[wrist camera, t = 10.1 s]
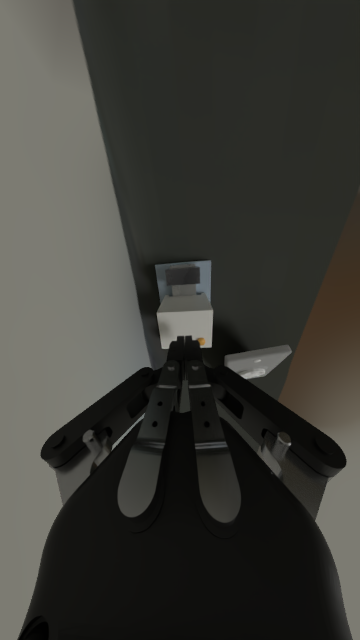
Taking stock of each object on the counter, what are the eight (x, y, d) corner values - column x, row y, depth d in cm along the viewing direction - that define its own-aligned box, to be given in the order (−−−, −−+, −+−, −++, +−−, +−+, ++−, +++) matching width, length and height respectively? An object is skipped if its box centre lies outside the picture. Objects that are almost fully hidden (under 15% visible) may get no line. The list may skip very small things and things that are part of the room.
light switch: (226, 386, 30) (228, 369, 19) (219, 360, 34) (217, 331, 22) (267, 380, 29) (297, 358, 17) (255, 353, 32) (274, 320, 21)
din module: (165, 294, 21) (156, 313, 15) (205, 292, 21) (213, 310, 15) (168, 323, 24) (161, 349, 17) (204, 321, 23) (211, 348, 17)
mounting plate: (156, 264, 21) (154, 265, 20) (209, 260, 20) (211, 260, 19) (167, 339, 27) (166, 344, 26) (208, 337, 27) (209, 342, 25)
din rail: (167, 265, 20) (164, 267, 17) (198, 263, 19) (199, 264, 17) (175, 342, 26) (174, 352, 23) (199, 342, 25) (200, 351, 23)
